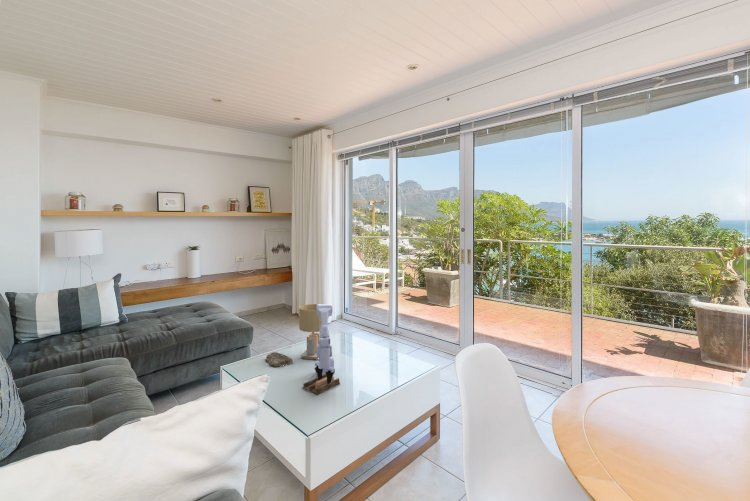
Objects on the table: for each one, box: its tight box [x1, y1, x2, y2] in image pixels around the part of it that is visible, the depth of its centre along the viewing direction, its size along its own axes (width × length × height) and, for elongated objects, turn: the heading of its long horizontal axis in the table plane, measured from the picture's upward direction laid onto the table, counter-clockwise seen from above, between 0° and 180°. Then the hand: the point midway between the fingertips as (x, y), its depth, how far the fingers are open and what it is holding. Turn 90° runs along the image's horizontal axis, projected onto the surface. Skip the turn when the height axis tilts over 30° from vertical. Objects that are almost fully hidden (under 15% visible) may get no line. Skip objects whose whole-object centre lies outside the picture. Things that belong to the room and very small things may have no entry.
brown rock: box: [265, 351, 293, 367], centre depth 239 cm, size 14×5×20 cm
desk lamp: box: [298, 303, 321, 361], centre depth 249 cm, size 20×20×35 cm
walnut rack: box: [302, 374, 341, 396], centre depth 203 cm, size 18×12×3 cm, turn 141°
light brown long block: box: [315, 375, 335, 389], centre depth 202 cm, size 12×2×4 cm, turn 141°
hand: (324, 380), depth 202 cm, fingers open, 7 cm apart
